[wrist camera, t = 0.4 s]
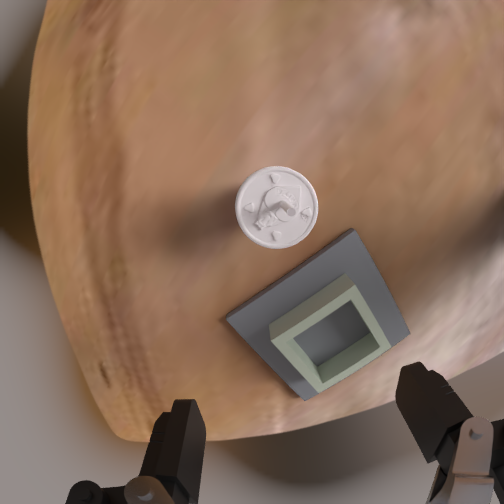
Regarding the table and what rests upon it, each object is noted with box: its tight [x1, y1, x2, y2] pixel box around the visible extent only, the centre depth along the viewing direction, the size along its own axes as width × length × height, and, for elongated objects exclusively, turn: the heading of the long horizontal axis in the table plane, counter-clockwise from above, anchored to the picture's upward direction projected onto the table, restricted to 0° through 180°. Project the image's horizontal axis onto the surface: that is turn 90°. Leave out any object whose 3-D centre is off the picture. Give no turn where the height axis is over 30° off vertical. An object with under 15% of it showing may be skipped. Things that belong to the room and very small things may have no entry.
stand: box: [226, 228, 410, 401], centre depth 33 cm, size 18×18×5 cm
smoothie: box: [235, 166, 318, 249], centre depth 24 cm, size 6×6×14 cm
